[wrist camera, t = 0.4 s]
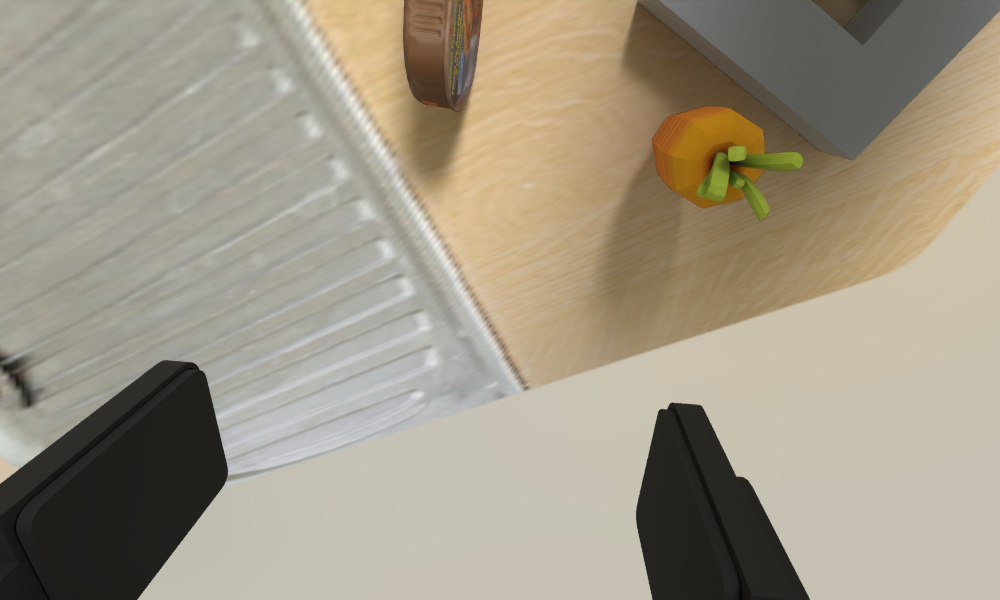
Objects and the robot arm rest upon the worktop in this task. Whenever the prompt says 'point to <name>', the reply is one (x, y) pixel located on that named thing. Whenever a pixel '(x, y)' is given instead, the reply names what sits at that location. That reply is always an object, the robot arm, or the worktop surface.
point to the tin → (441, 49)
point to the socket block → (828, 57)
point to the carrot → (716, 157)
